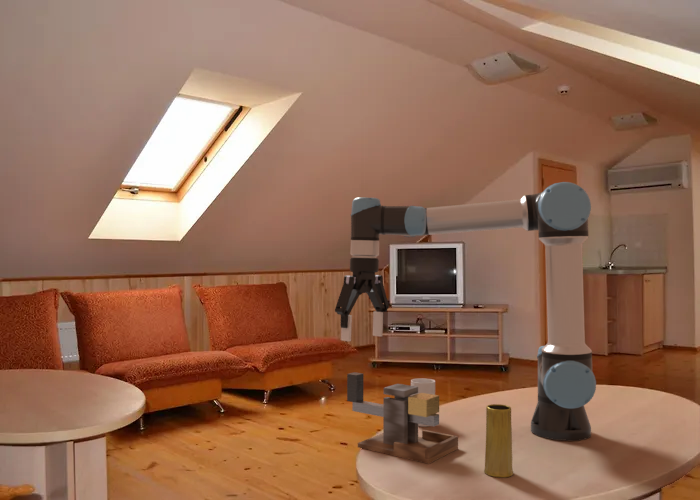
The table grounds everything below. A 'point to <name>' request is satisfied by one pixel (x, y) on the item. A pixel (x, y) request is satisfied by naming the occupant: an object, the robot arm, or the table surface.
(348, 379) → the grey l-shaped bar
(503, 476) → the vase
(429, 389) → the mug
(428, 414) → the spacer
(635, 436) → the table surface
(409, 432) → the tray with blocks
